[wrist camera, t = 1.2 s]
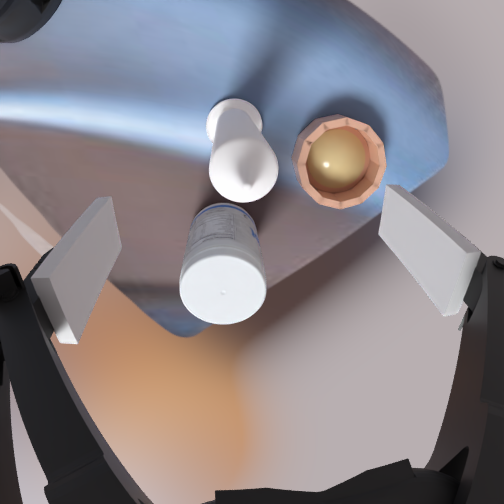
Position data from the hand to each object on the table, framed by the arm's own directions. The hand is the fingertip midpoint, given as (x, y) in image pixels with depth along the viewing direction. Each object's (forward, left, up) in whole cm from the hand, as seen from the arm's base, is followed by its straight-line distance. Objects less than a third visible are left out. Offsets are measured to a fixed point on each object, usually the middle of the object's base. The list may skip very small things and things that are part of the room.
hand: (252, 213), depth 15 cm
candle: (0, 0, -28) cm, 29 cm away
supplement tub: (+14, -6, -28) cm, 32 cm away
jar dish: (+8, +12, -28) cm, 32 cm away
